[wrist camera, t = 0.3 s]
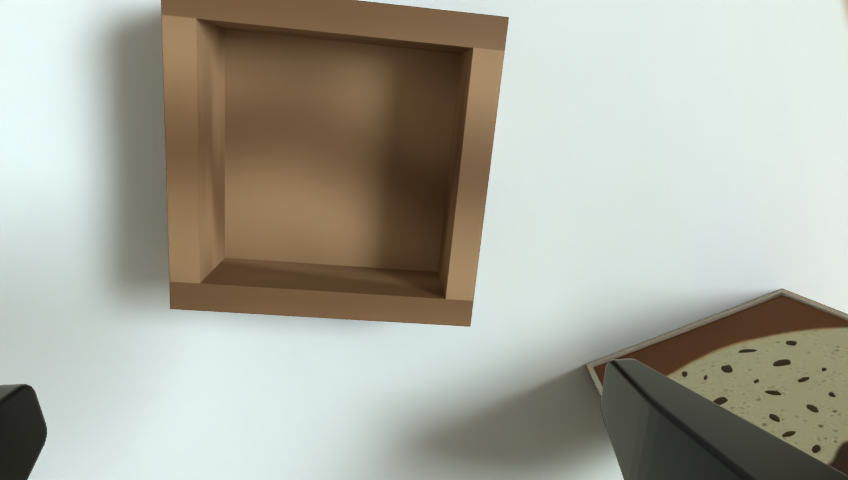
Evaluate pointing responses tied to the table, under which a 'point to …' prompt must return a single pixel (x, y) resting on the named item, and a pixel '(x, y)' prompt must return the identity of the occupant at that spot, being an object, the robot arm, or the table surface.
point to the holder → (328, 156)
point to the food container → (763, 368)
